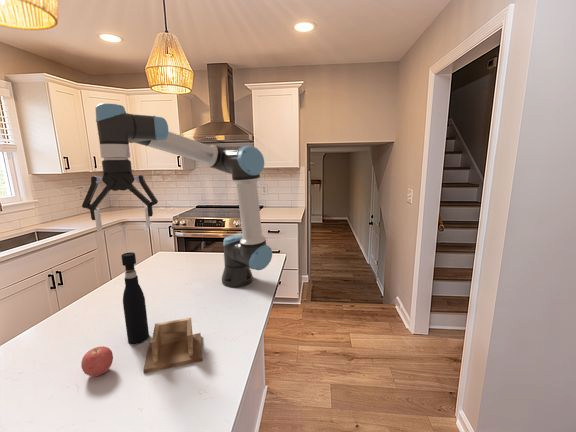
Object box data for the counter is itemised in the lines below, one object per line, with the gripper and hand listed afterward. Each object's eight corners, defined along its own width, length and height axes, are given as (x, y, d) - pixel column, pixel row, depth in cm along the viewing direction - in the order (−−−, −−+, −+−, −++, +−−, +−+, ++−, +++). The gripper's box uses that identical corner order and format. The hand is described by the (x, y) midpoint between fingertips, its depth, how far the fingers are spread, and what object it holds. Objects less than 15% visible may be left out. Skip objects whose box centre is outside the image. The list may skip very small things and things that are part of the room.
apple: (110, 379, 80) (106, 353, 78) (79, 385, 78) (74, 359, 76) (117, 361, 87) (114, 337, 85) (89, 366, 85) (85, 342, 83)
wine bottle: (140, 345, 94) (129, 258, 88) (123, 343, 95) (111, 256, 90) (153, 334, 100) (143, 251, 94) (137, 332, 102) (126, 250, 96)
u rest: (200, 336, 99) (199, 314, 97) (202, 360, 87) (200, 336, 85) (149, 345, 94) (146, 323, 92) (143, 373, 82) (140, 347, 80)
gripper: (162, 159, 94) (168, 222, 98) (71, 159, 86) (82, 229, 90) (160, 158, 87) (166, 227, 91) (61, 159, 79) (73, 234, 83)
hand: (124, 228), depth 90 cm, fingers open, 13 cm apart
